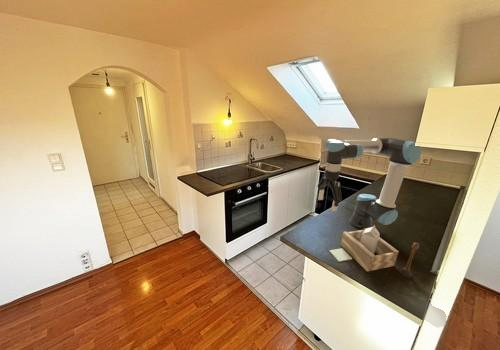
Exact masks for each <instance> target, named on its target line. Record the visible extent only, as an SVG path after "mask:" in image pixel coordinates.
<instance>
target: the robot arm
mask: <svg viewBox="0 0 500 350" xmlns="http://www.w3.org/2000/svg"><path fill="white" fill-rule="evenodd" d="M415 143H417V142H415V141H411V140H407V139H399V138H396V137H395V138H394V137H380V138H373V139H345V140H344V139H340V140H339V139H335V138H330V139H327V140H326V142H325V144H324V149H325V150H326V151H327V154H326V164H325V170H324V174H322V175H321V178H320V181H318V184H317V186H316V187H317V188H318V198H317V200H318V201H323V200H324V193H325V188H326V187H329V188H330V189H331V192H332V196H333V199H332V205H331V212H336V211H338V206H339V204H340V203H339V202H342V201H343V195H342V186H341V185H342V183H341V182H340V181H337V180H338V179H339V178H340V173H341V169H342V168H341V167H342V162H343V160H347V159H348V160H349V159H357V158H361V157H362V155H363V153H372V154H378V155H383V156H386V157H388V163H390V164H389V168H388V170H387V174H386V177H385V180H384V183H383V186H382V189H381V191H380V195H379V198H377V196H376V195H374V194H369V193H361V194H358V196H357V198H356V201H355V207H354V211H353V213H352V214H351V216H350V217H349V223H350V224H351V226H354V227H355V228H357V229H360V230H364V229H366V228H371V227H373V226H374V225H373V224H374V223H373V219H374V220H375V221H377V222H378V223H380V224H381V225H385V226H386V225H388V226H389V225H391V224H393V222H395V221H396V220H397V218H398V215H399V212H398V211H397V210H396V207H397V204H395V202H396V200H397V196H398V194H399V190H400V189H401V186H402V183H403V180H404V178H405V174H406V172H407V169H408V168H409V167H410V166H412V164H414V163H417V162H418V161H419V159H420V158H421V156H422V148H421V146H415Z"/></svg>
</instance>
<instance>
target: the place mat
mask: <svg viewBox="0 0 500 350" xmlns="http://www.w3.org/2000/svg"><path fill="white" fill-rule="evenodd" d="M328 251H329V253H330V254H331V255H332V256H333V258H335V260H337V262H338V263H339V262H345V261H351V260H353V257H352V256H351V255H350V254H349V253H348V252H347V251H346V250H345V249H344V248H343V247H340V248H336V249H331V250H330V249H329V250H328Z"/></svg>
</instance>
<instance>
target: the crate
mask: <svg viewBox="0 0 500 350" xmlns="http://www.w3.org/2000/svg"><path fill="white" fill-rule="evenodd" d="M366 229H367V228H366ZM366 229H360V230H354V231H343V233H342V235H341V241H340V246H341V248H343V249H344V250H345V252H346V253H347V254H348V255H349V256H350V257H351V258H352V259H354V261H356V262H357V263H358V264H359V265H360V266H361V267H362V268H363V269H364V270H365V271H366V272H371V271H376V270H381V269H385V268H391V267H394V266H395V263H396V261H397V259H398V256H399V253H400V252H399V250H397V249H396V248H395V247H394V246H392V245H391V244H389V243H388V242H387V241H385V240H384V239H382V237H380V236H379V239H378V242H377V246H376V249H375V253H376V255H375V253H374V254H372V253H371V252H370V251H369V250H368V249H367V248H365V247H364V246H363V245H362V244H361V243H360V241H361V237H362V233H363V232H364V231H365V230H366Z"/></svg>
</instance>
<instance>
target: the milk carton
mask: <svg viewBox="0 0 500 350" xmlns="http://www.w3.org/2000/svg"><path fill="white" fill-rule="evenodd" d="M380 235H381V233H380V232H379V230H378V229H377V227H376V225H375V224H374V225H372V227H371V228H367V229H366V230H365V231H364V232H363V233H362V237H361V241H360V243H361V244H362V245H363V246H364V247H365V248H367V249H368V250H369V251H370V252H371V253H372V254H374V255H375V253H376V252H375V249H376V246H377V242H378V239H379V237H380Z"/></svg>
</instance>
